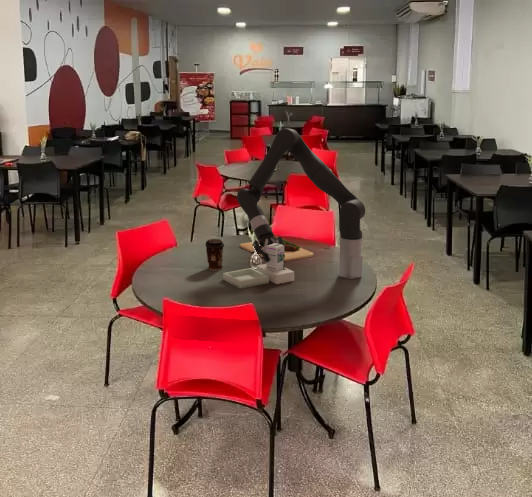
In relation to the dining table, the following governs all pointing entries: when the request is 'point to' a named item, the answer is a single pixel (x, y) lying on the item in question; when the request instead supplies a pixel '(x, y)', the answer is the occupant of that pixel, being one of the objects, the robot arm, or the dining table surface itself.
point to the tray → (245, 278)
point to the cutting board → (285, 250)
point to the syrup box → (275, 257)
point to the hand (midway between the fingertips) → (275, 259)
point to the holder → (277, 274)
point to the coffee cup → (214, 254)
